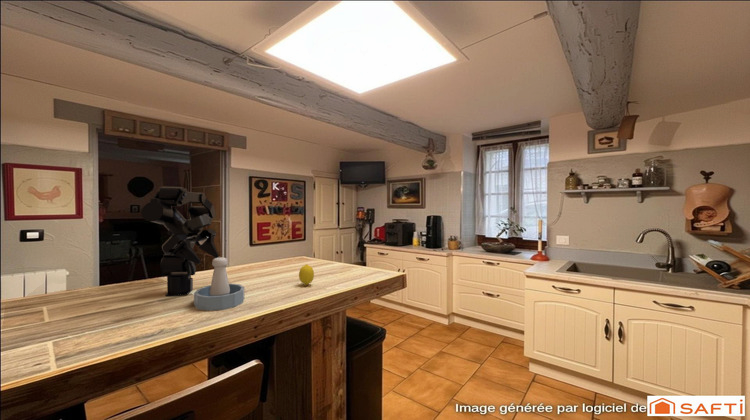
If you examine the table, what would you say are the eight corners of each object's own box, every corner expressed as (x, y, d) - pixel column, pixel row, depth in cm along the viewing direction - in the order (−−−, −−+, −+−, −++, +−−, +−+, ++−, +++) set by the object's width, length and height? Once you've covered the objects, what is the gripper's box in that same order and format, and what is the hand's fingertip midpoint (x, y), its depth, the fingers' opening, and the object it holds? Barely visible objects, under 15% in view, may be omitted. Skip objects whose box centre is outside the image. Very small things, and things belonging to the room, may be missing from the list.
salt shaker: (210, 297, 100) (210, 256, 100) (230, 295, 103) (230, 255, 102) (208, 303, 95) (208, 260, 94) (229, 301, 97) (229, 259, 97)
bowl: (188, 312, 90) (188, 298, 90) (202, 296, 104) (201, 284, 103) (240, 308, 94) (240, 295, 94) (246, 294, 107) (246, 282, 107)
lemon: (310, 288, 116) (310, 266, 115) (296, 286, 117) (296, 265, 117) (316, 283, 121) (316, 263, 121) (302, 282, 122) (302, 262, 122)
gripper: (171, 206, 89) (208, 247, 89) (211, 205, 108) (242, 238, 107) (145, 233, 90) (182, 273, 90) (189, 227, 109) (219, 260, 108)
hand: (209, 259), depth 99 cm, fingers open, 9 cm apart
